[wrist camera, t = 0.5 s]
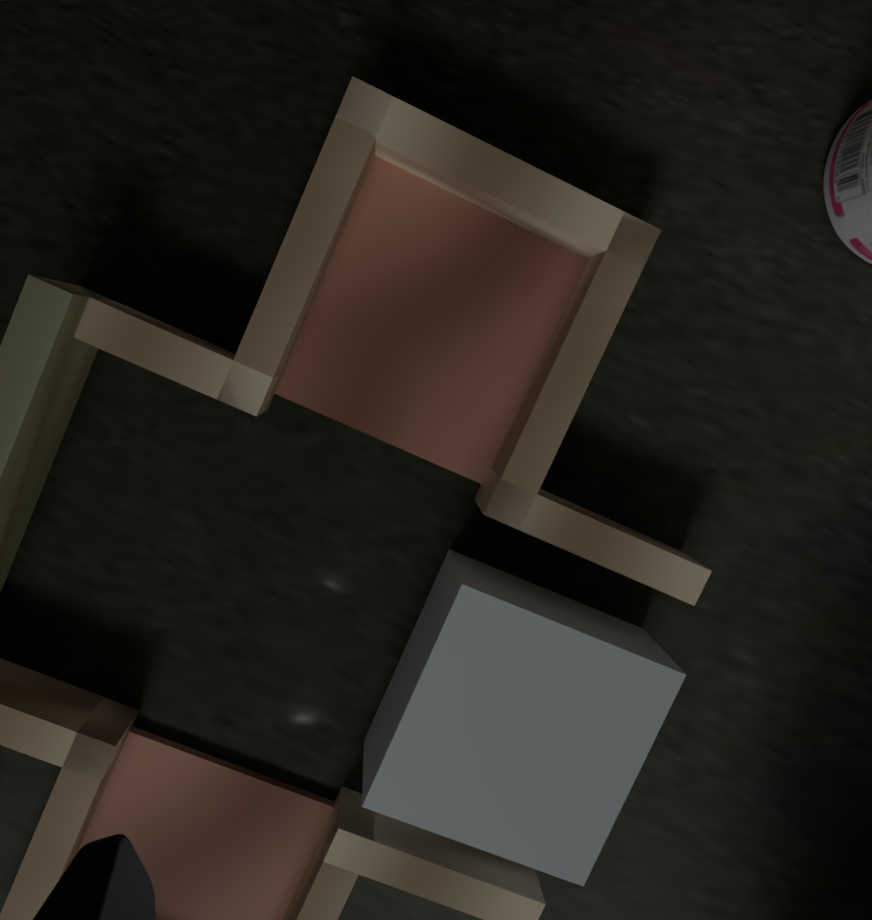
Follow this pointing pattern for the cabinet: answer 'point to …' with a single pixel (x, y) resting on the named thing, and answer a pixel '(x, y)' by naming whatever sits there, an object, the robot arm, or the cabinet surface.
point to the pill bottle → (852, 183)
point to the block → (516, 720)
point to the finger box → (370, 411)
